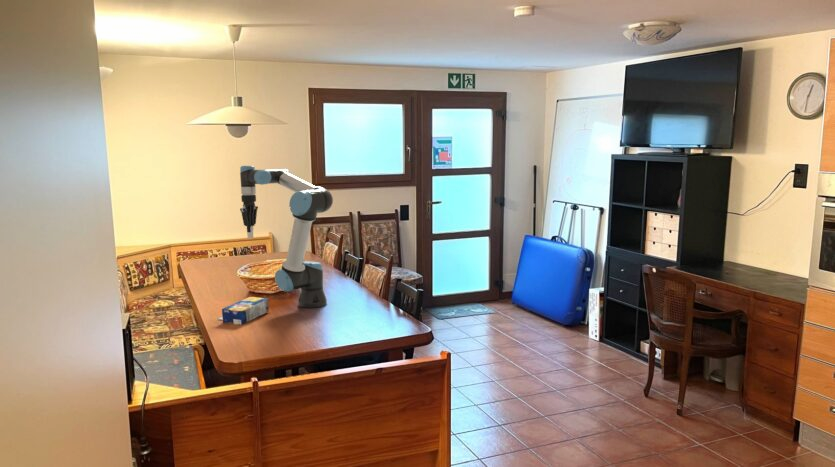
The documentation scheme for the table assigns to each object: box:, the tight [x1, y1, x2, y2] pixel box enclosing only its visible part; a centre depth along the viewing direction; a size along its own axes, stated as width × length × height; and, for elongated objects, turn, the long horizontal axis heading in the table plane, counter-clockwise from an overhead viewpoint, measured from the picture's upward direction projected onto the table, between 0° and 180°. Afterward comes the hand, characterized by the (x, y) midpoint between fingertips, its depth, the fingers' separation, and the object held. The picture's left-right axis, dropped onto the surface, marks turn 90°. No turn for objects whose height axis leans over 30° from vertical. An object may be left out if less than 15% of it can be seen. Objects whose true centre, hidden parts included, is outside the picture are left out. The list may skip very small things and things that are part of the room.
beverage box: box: [221, 296, 270, 326], centre depth 289 cm, size 7×11×22 cm
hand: (250, 237), depth 319 cm, fingers closed
